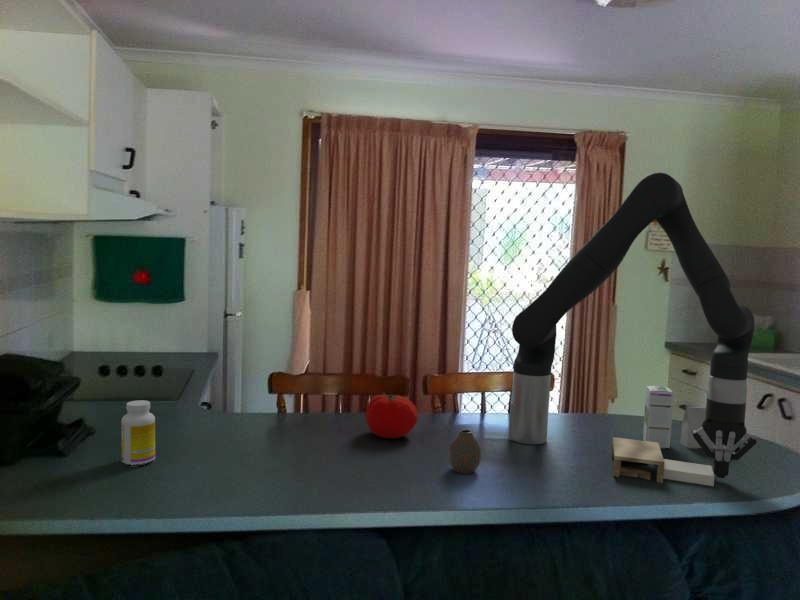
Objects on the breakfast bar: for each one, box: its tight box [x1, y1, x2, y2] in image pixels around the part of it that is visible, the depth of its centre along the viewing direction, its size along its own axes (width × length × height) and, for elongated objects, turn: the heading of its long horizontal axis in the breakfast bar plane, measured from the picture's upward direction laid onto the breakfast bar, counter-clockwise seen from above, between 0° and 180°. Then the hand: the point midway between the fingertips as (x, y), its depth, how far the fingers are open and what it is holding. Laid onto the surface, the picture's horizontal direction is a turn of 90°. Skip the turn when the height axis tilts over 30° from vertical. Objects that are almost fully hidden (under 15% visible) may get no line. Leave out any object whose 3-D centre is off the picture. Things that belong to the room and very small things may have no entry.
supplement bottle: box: [120, 399, 156, 465], centre depth 136 cm, size 7×7×13 cm
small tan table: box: [611, 436, 665, 484], centre depth 144 cm, size 10×14×5 cm
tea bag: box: [679, 406, 713, 450], centre depth 163 cm, size 4×7×10 cm, turn 91°
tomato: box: [365, 391, 419, 439], centre depth 161 cm, size 13×12×11 cm
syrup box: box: [642, 385, 674, 449], centre depth 162 cm, size 6×6×14 cm
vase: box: [448, 429, 482, 475], centre depth 139 cm, size 7×7×9 cm
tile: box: [663, 458, 715, 487], centre depth 141 cm, size 10×7×2 cm
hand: (720, 476), depth 139 cm, fingers closed
